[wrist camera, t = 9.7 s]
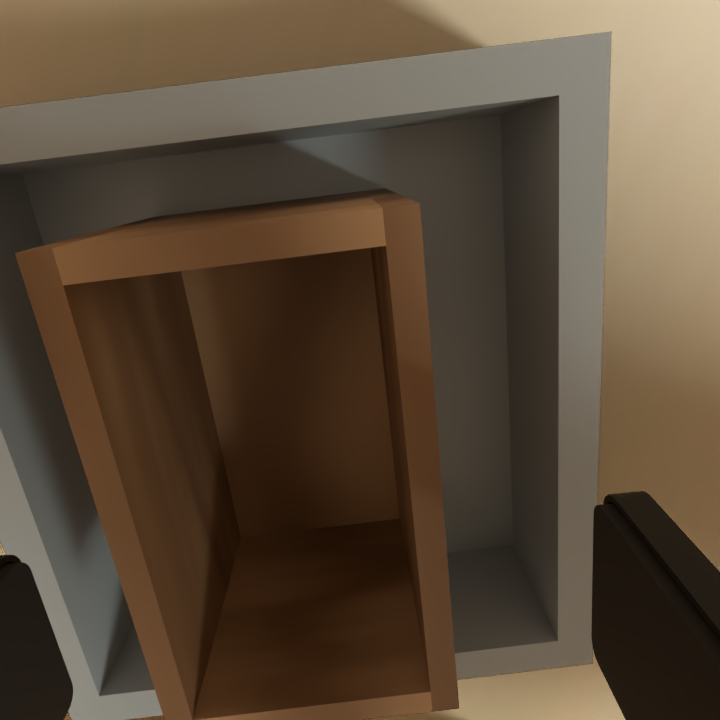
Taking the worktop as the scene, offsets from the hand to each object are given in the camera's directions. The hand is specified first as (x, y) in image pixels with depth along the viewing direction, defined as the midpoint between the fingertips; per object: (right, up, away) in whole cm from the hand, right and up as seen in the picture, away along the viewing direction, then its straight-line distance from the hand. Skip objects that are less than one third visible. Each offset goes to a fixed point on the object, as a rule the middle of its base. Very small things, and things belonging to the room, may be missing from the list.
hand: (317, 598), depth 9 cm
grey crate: (-1, +3, +9) cm, 10 cm away
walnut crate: (-1, +3, +8) cm, 9 cm away
